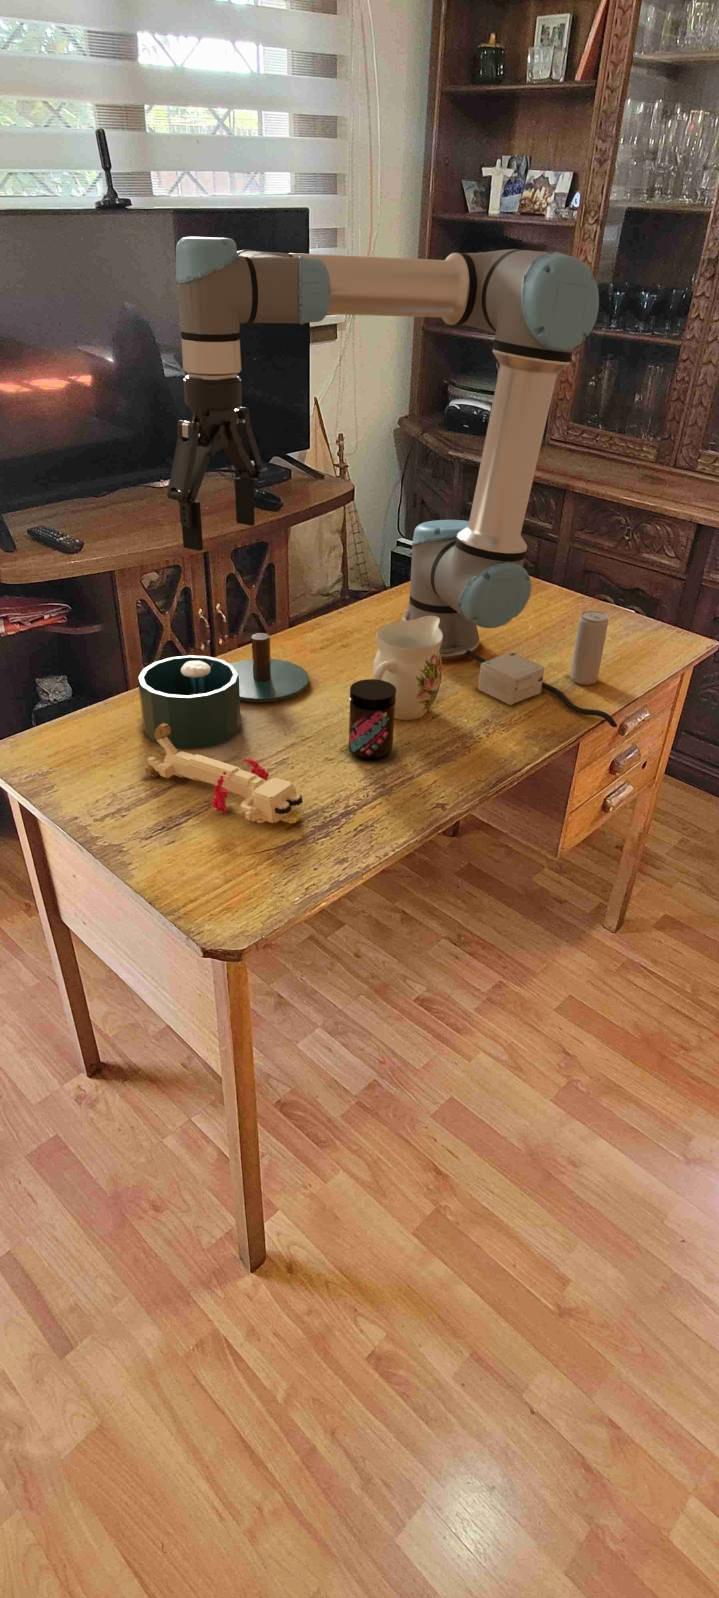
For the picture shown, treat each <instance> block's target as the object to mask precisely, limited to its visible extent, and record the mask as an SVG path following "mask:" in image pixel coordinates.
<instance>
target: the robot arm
mask: <svg viewBox="0 0 719 1598" xmlns="http://www.w3.org/2000/svg"><path fill="white" fill-rule="evenodd" d="M237 247H238V246H237V243H236V241H235V240H234V239H233V238H230V237H215V236H214V237H213V236H211V237H210V236H185V237H182V238H180V240H178V242H177V244H176V247H175V250H176V251H175V262H176V264H175V267H176V271H175V272H176V273H175V275H176V276H175V283H176V288H177V298H178V311H179V324H180V339H181V353H182V355H181V357H182V369H183V371H184V372H185V373H186V374H187V375H185V376H184V378H183V391H184V403H185V405H186V406H187V408H190V409H191V411H192V419H191V421H189V420H181V419H180V420H178V421H177V425H176V427H177V428H176V429H177V430H176V431H177V432H176V433H177V437H176V438H177V440H176V445H175V449H174V450H175V451H174V455H173V461H172V466H171V472H170V476H169V482H168V487H167V491H166V497H167V498H168V499H170V500H173V501H177V502H178V506H179V519H180V520H179V521H180V525H181V531H182V533H181V534H182V544H183V545H182V546H183V548H184V549H189V550H194V551H199V552H200V551H202V550H204V544H203V528H202V527H203V525H202V511H201V509H202V508H201V501H200V500H197V497H198V494H199V491H200V488H201V486H202V482H203V479H204V477H205V474H206V471H207V468H208V466H209V462H210V460H211V458H213V457H215V455H216V452H219V451H221V450H222V449H223V451H224V453H225V454H226V456H227V458H228V459H229V461H230V463H231V464H232V467H233V469H234V470H235V472H236V473H237V475H238V476H237V477H235V478H234V493H235V495H234V496H235V514H236V515H235V517H236V518H235V519H236V524H240V525H245V526H251V527H253V526H256V525H255V524H256V523H255V522H256V521H255V520H256V519H255V517H256V516H255V481H254V480H256V479H257V480H260V479H261V476H262V472H261V471H262V470H263V467H264V466H263V462H262V461H263V460H262V459H261V455H260V452H259V448H258V446H257V442H256V439H255V436H254V433H253V429H252V425H251V418H250V410H249V407H245V406H242V404H243V392H242V389H243V387H242V379H241V378H240V376H239V375H238V374H239V373H241V372H242V357H241V339H240V338H241V333H240V326H241V324H245V325H246V324H249V325H250V324H299V325H304V324H308V323H310V324H311V323H319V322H322V321H323V320H324V319H325V318H326V317H327V315H340V316H343V315H344V316H373V317H374V316H376V317H378V316H381V317H415V318H416V317H417V318H418V317H419V318H441V319H442V321H443V322H444V323H445V324H446V325H449V326H465V327H470V328H475V329H479V330H483V331H485V332H489V333H492V334H495V335H494V339H493V346H492V353H493V355H494V357H495V359H496V360H497V362H498V365H499V369H498V374H497V379H496V383H495V388H494V392H493V393H494V394H493V399H492V405H491V409H490V414H489V420H488V424H487V428H486V434H485V439H484V444H483V449H482V455H481V458H480V459H481V460H480V465H479V469H478V475H477V479H476V485H475V491H474V493H473V495H474V496H473V498H472V499H473V500H472V504H471V509H470V510H471V511H470V515H469V519H468V520H461V519H437V520H430V521H429V520H428V521H424V522H422V523H420V524H418V525H417V526H416V527H415V529H414V530H413V537H412V543H411V563H410V564H411V567H410V580H409V581H410V584H409V598H408V599H409V601H408V606H407V609H406V611H405V613H403V615H402V617H401V620H400V621H406V620H413V619H417V618H420V617H424V616H436V617H439V618H440V623H439V628H440V630H441V631H442V634H443V639H442V643H441V646H440V649H439V653H440V656H441V662H442V663H451V662H458V661H463V660H467V659H470V658H471V659H473V660H475V661H476V662H478V663H480V664H481V663H483V662H486V661H487V660H486V659H485V658H483V657H482V656H480V655H479V654H477V652H478V651H479V646H480V635H479V631H478V627H480V628H483V629H496V628H500V627H503V626H505V625H507V624H509V623H510V622H512V620H513V619H514V618H517V617H518V616H519V615H520V614H521V613H522V612H523V610H524V609H525V608H526V606H527V604H528V603H529V600H530V598H531V593H532V581H531V579H532V578H531V577H530V576H529V572H528V571H527V569H525V568H524V564H525V559H526V555H527V550H528V544H527V543H526V541H525V540H524V538H523V537H522V531H523V526H524V522H525V517H526V513H527V508H528V505H529V504H528V503H529V499H530V495H531V492H532V491H531V490H532V487H533V482H534V479H535V478H534V477H535V473H536V470H537V469H536V468H537V464H538V459H539V455H540V451H541V447H542V442H543V438H544V434H545V430H546V429H545V428H546V424H547V420H548V415H549V411H550V406H551V403H552V397H553V394H554V390H555V385H556V380H557V377H558V375H559V374H560V372H562V371H563V370H565V369H566V368H567V367H568V366H569V365H570V364H571V362H572V361H571V360H572V356H573V354H574V353H573V352H574V348H576V347H578V346H579V345H581V343H582V342H583V341H584V339H585V338H586V337H588V336H589V335H590V333H591V332H592V330H593V329H594V326H595V324H596V321H597V318H598V314H599V308H600V306H599V305H600V295H599V294H600V293H599V288H598V284H597V281H596V279H595V277H594V275H593V273H592V271H591V269H590V268H589V267H588V265H587V264H586V263H585V262H583V261H582V260H580V259H579V258H577V257H575V256H573V255H568V254H566V253H562V252H560V251H543V250H541V251H540V250H528V249H520V248H511V249H509V248H508V249H500V250H491V251H483V252H482V251H481V252H452V253H450V254H448V255H447V257H446V258H445V259H429V258H428V259H427V258H409V257H407V258H405V257H385V256H384V257H383V256H364V255H363V256H362V255H360V256H359V255H343V254H341V255H339V254H338V255H337V254H321V253H320V254H319V253H299V252H298V253H295V252H289V253H287V252H271V251H257V250H255V249H242V250H238V248H237ZM541 689H544V690H547V691H548V692H550V693H552V694H554V695H556V697H558V698H559V699H560V700H561V701H562V702H563V704H564V705H565V706H566V707H567V708H568V709H570V710H571V711H573V712H575V713H577V714H580V715H585V716H595V717H600V718H602V719H604V720H605V721H606V722H607V723H608V725H610V727H612V728H618V725H617V722H616V721H615V719H614V718H613V717H612V715H610V714H609V713H607V712H605V711H603V710H598V709H592V708H591V709H590V708H583V707H579V706H577V705H576V704H574V703H573V702H572V701H571V700H570V699H569V698H568V696H566V695H565V694H564V693H563V692H562V691H561V690H560V689H559V688H557V687H555V686H553V685H551V684H548V683H546V682H544V681H542V687H541Z"/></svg>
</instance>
